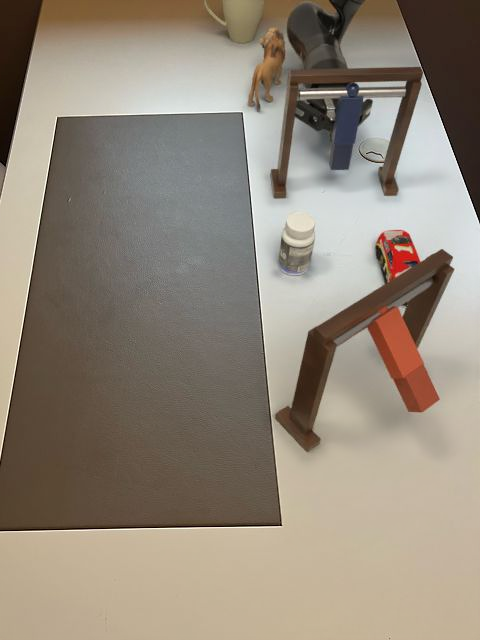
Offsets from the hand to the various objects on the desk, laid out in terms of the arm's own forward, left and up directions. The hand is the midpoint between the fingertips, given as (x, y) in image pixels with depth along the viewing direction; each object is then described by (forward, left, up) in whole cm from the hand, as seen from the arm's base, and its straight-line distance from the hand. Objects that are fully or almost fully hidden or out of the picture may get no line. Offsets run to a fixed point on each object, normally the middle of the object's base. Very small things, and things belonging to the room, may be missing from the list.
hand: (341, 141), depth 96 cm
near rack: (-14, +39, -8) cm, 43 cm away
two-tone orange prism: (-22, +44, +1) cm, 49 cm away
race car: (-15, +16, -8) cm, 23 cm away
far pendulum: (-1, +1, -3) cm, 4 cm away
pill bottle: (0, +20, -8) cm, 22 cm away
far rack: (0, 0, -8) cm, 8 cm away
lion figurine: (+20, -22, -8) cm, 30 cm away
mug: (+32, -38, -8) cm, 50 cm away
